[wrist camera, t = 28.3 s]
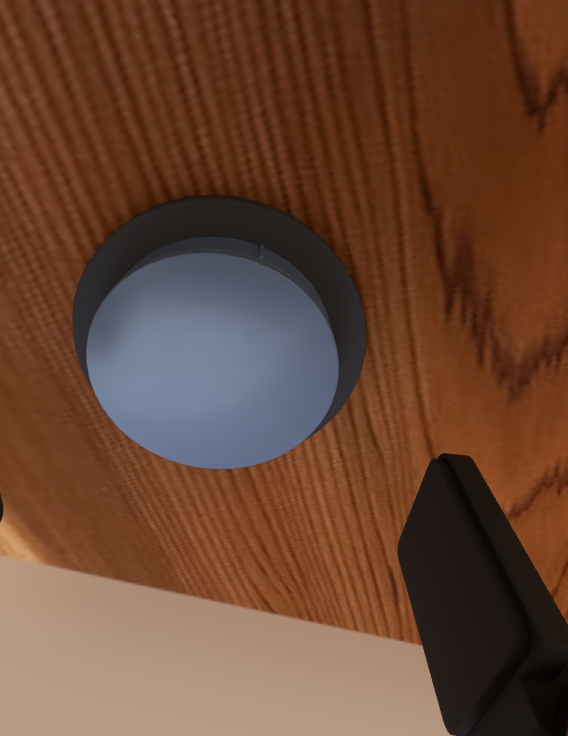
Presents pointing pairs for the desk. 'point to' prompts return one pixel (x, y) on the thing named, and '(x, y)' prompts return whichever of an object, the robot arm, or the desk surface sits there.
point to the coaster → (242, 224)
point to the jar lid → (213, 354)
